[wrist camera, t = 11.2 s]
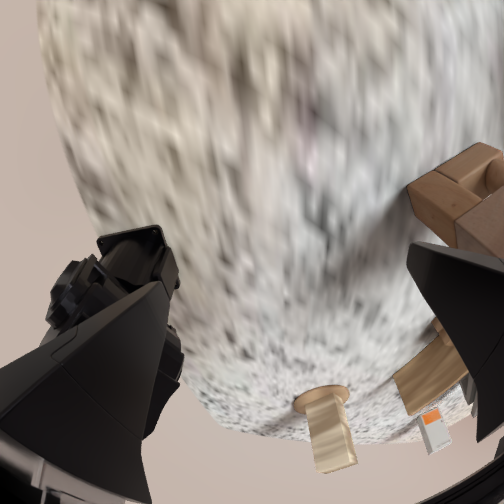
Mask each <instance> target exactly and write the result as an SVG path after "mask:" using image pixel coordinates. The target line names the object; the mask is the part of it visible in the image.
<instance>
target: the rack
mask: <svg viewBox="0 0 504 504" xmlns="http://www.w3.org/2000/svg"><path fill="white" fill-rule="evenodd" d="M468 372H469V371H468V369H467V368H466V366H465V364H464V362H463V360H462V359H461V357H460V355H459V353H458V351H457V350H456V348H455V346H449V345H445V343H444V341H443V340H442V338H441V336H440V335H439V336H438V337H437V338H435V339H434V340H433V341H432V342H431V343H430V344H429V345H428V346H427V347H426V348H425V349H424V350H422V351H421V352H420V353H419V354H418V355H417V356H416V357H414V358H413V359H412V360H411V361H410V362H409V363H407V364H406V365H405V366H404V367H403V368H401V369H400V370H399V371H398V372H396V373H395V374H394V375H393V378H394V380H395V383H396V385H397V388H398V390H399V393H400V395H401V398H402V400H403V403H404V405H405V408H406V411H407V413H408V416H412V415H414V414H415V413H417V412H418V411H420V410H421V409H423V408H424V407H425V406H427V405H428V404H430V403H431V402H432V401H434V400H435V399H436V398H438V397H439V396H440V395H442V394H443V393H444V392H446V391H447V390H448V389H449V388H451V387H452V386H453V385H454V384H456V383H457V382H458V381H459V380H460V379H461V378H463V377H464V376H465V375H466V374H467V373H468Z"/></svg>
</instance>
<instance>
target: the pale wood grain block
mask: <svg viewBox="0 0 504 504" xmlns="http://www.w3.org/2000/svg"><path fill="white" fill-rule="evenodd" d="M305 409H306V415H307V420H308V426H309V432H310V437H311V443H312V449H313V455H314V461H315V467H316V472H317V473H325V474H327V473H331V472H334V471H337V470H340V469H343V468H346V467H349V466H352V465H355V464H358V461H357V457H356V453H355V449H354V445H353V441H352V437H351V433H350V429H349V425H348V421H347V417H346V413H345V409H344V406H343V402H342V399H341V398H340V397H339V396H337V395H336V394H335V393H331V394H328V395H326V396H324V397H322V398H319V399H317V400H315V401H312V402H310V403H307V404H305Z"/></svg>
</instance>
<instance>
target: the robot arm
mask: <svg viewBox="0 0 504 504" xmlns="http://www.w3.org/2000/svg"><path fill="white" fill-rule="evenodd" d="M154 229H155V230H157V231H158V233H156V232H154ZM101 241H103V243H101ZM97 245H98V248H99V250H100V252H101V255H102V257H101V259H100V260H99V262H98V261H97V258H96V257H95V256H94V255H93V254H91V255H90V256H89V257H88V258H87V259H86V258H85V259H84V260H82V261H81V262H79V261H73V260H72V261H71V263H70V264H69V265H68V266H67V267H66V269H65V270H64V271H63V273H62V274H61V275H60V277H59V278H58V280H57V281H56V283H55V285H54V286H53V288H52V290H51V292H50V293H51V303H50V305H49V308H48V312H47V315H46V319H45V320H46V321H47V322H48V323H49V324H50V325H51V327H50V328H49V330H48V331H47V333H46V335H45V336H44V338H43V340H42V341H41V343H40V346H39V347H38V348H36V349H35V350H33V351H31V352H29V353H27V354H25V355H24V356H22V357H20V358H18V359H16V360H15V361H13V362H11V363H9V364H8V365H6V366H4V367H2V368H0V504H125V500H127V501H131V502H136V503H141V504H152V500H151V496H150V492H149V488H148V484H147V480H146V476H145V472H144V467H143V463H142V457H141V444H142V440H144V439H145V438H146V437H147V436H148V435H150V434H151V433H152V432H153V431H154V429H155V426H156V424H157V421H158V419H159V416H160V414H161V412H162V410H163V408H164V406H165V404H166V403H167V401H168V399H169V398H170V397H171V395H172V394H173V393H174V392H175V391H176V390H177V389H178V388H179V386H180V383H179V382H178V380H179V378H180V375H181V372H182V367H183V362H184V354H183V353H182V352H181V342H180V339H179V337H178V336H177V334H176V329H175V328H173V327H172V326H171V325H168V324H167V322H168V315H169V308H170V300H171V298H172V294H173V291H174V289H178V288H179V286H180V280H179V277H178V273H179V270H178V267H177V264H176V261H175V258H174V256H173V253H172V250H171V248H170V247H169V246H167V243H166V240H165V237H164V234H163V231H162V228H161V227H160V226H159V225H151V226H146V227H141V228H136V229H131V230H127V231H122V232H118V233H113V234H108V235H104V236H100V237H99V238H98V239H97ZM406 265H407V269H408V271H409V272H410V274H411V276H412V278H413V279H414V281H415V283H416V285H417V287H418V289H419V290H420V292H421V294H422V296H423V297H424V299H425V300H426V302H427V303H428V305H429V306H430V308H431V309H432V311H433V312H434V314H435V315H436V317H437V319H438V320H439V322H440V323H441V325H442V326H443V328H444V330H445V331H446V333H447V335H448V336H449V338H450V340H451V341H452V343H453V345H454V346H455V348H456V350H457V351H458V353H459V355H460V357H461V359H462V360H463V362H464V364H465V366H466V368H467V369H468V371H469V373H470V375H471V377H472V379H474V380H473V381H474V383H475V386H476V390H477V435H476V440H477V443H479V442H480V441H482V440H483V439H485V438H486V437H488V436H489V435H491V434H492V433H494V432H495V431H497V430H498V429H499V428H501V427H502V426H504V259H503V258H497V257H492V256H488V255H483V254H479V253H474V252H470V251H465V250H460V249H455V248H451V247H446V246H441V245H436V244H431V243H425V242H412V243H411V244H410V245H409V250H408V255H407V261H406ZM175 283H176V285H175ZM416 504H504V436H503V437H502V438H501V439H500V441H499V444H498V448H497V451H496V454H495V457H494V460H492V461H491V462H489V463H488V464H487V465H485V466H484V467H482V468H481V469H479V470H478V471H476V472H475V473H473V474H471V475H470V476H468V477H466V478H465V479H463V480H461V481H460V482H458V483H456V484H454V485H453V486H451V487H449V488H447V489H445V490H443V491H441V492H439V493H437V494H435V495H433V496H431V497H429V498H427V499H425V500H423V501H420V502H419V503H416Z"/></svg>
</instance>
